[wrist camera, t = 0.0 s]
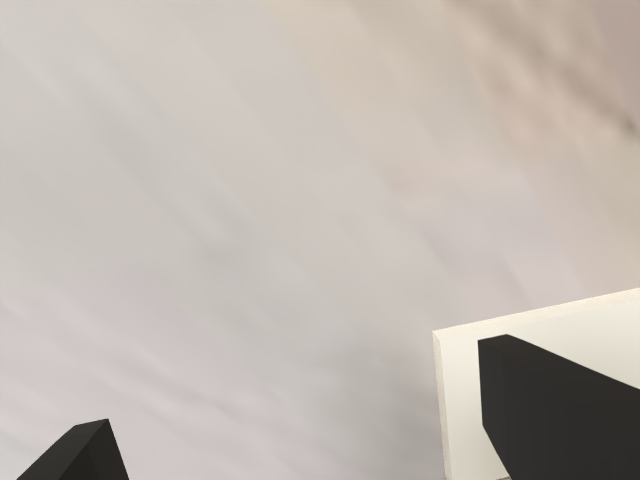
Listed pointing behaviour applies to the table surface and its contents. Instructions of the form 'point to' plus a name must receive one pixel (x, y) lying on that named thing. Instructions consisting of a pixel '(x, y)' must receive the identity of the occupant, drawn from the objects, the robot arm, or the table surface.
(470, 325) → the trivet
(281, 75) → the table surface
